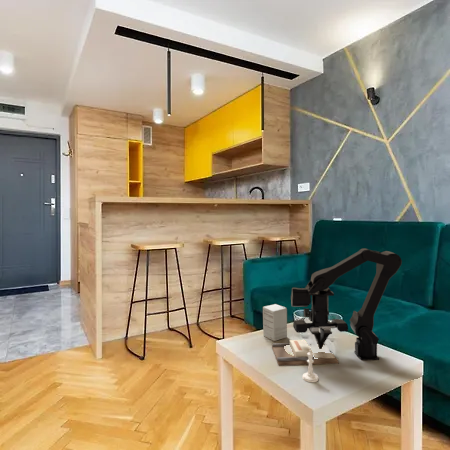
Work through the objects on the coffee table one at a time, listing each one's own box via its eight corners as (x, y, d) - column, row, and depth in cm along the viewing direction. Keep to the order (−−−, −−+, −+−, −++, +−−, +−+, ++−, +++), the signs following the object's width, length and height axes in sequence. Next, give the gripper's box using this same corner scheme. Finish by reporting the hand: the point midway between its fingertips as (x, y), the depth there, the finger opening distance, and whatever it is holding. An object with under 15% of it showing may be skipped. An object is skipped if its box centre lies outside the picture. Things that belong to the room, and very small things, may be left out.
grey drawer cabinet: (276, 331, 145) (275, 303, 144) (287, 337, 138) (287, 307, 138) (262, 335, 141) (262, 306, 140) (273, 341, 135) (273, 311, 134)
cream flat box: (305, 345, 127) (305, 339, 127) (312, 357, 117) (312, 350, 117) (289, 346, 127) (289, 339, 126) (295, 358, 117) (295, 351, 116)
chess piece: (318, 375, 107) (317, 345, 107) (318, 383, 103) (318, 351, 102) (302, 373, 108) (302, 343, 108) (302, 381, 104) (302, 350, 103)
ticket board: (325, 346, 129) (325, 341, 129) (338, 363, 115) (338, 357, 115) (272, 347, 129) (271, 342, 128) (278, 365, 115) (278, 359, 115)
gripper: (337, 299, 129) (337, 339, 130) (289, 301, 129) (290, 340, 130) (348, 308, 118) (348, 351, 119) (296, 309, 118) (296, 352, 119)
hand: (320, 348), depth 122 cm, fingers closed
